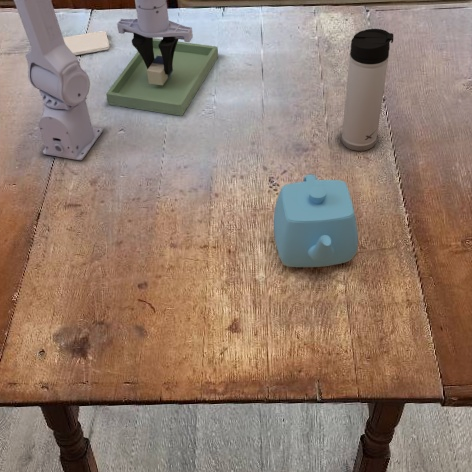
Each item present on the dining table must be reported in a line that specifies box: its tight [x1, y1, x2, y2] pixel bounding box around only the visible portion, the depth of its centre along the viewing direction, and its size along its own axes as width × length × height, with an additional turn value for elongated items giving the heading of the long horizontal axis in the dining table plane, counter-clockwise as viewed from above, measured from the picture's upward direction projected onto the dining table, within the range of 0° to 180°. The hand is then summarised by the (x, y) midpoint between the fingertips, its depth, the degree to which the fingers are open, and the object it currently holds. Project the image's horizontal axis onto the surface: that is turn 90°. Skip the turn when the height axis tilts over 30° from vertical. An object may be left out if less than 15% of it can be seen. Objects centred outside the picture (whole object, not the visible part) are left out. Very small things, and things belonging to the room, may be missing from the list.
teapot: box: [273, 173, 359, 268], centre depth 102 cm, size 12×18×12 cm
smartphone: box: [63, 30, 110, 56], centre depth 147 cm, size 7×1×15 cm
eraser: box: [147, 55, 173, 85], centre depth 135 cm, size 6×3×3 cm, turn 162°
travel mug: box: [341, 28, 394, 152], centre depth 115 cm, size 6×7×20 cm
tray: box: [105, 38, 219, 117], centre depth 137 cm, size 22×16×2 cm
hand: (160, 70), depth 135 cm, fingers closed on eraser, 3 cm apart
